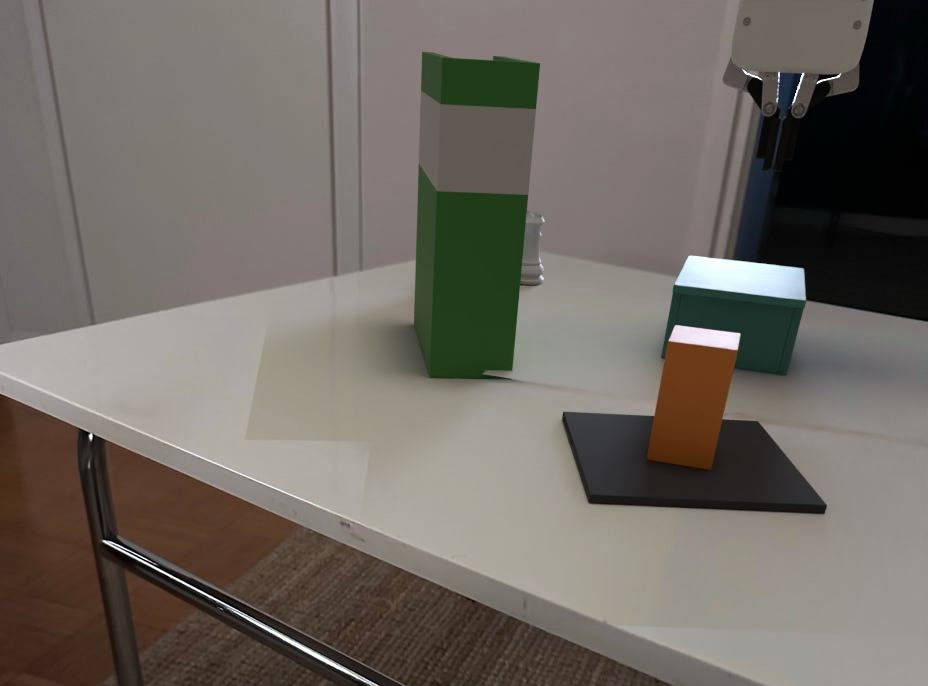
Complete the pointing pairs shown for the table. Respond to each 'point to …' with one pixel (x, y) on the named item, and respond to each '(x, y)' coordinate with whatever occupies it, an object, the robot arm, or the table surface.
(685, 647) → the table surface
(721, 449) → the mat
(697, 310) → the lunchbox
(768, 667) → the table surface
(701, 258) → the lunchbox lid
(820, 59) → the robot arm
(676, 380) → the carton
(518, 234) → the green and white box
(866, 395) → the table surface
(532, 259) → the rook chess piece
